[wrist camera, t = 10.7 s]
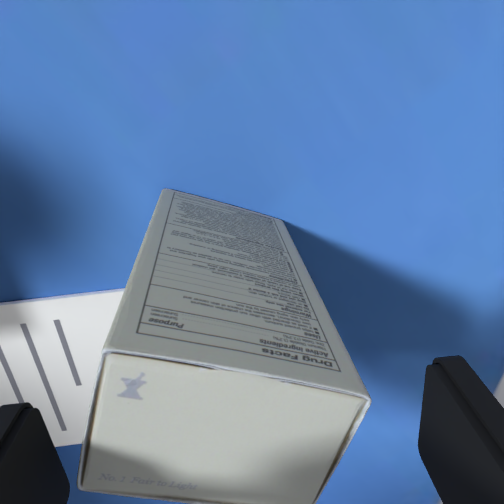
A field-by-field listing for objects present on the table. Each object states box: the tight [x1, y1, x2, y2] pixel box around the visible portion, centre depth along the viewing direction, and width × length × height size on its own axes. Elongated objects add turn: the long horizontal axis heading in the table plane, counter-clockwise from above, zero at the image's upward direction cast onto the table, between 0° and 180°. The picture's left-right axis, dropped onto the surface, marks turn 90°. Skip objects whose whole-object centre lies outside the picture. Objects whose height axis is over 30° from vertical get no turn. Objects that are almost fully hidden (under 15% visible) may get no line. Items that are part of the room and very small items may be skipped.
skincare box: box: [77, 188, 371, 504], centre depth 15 cm, size 6×4×12 cm
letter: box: [0, 288, 125, 447], centre depth 23 cm, size 14×10×1 cm
